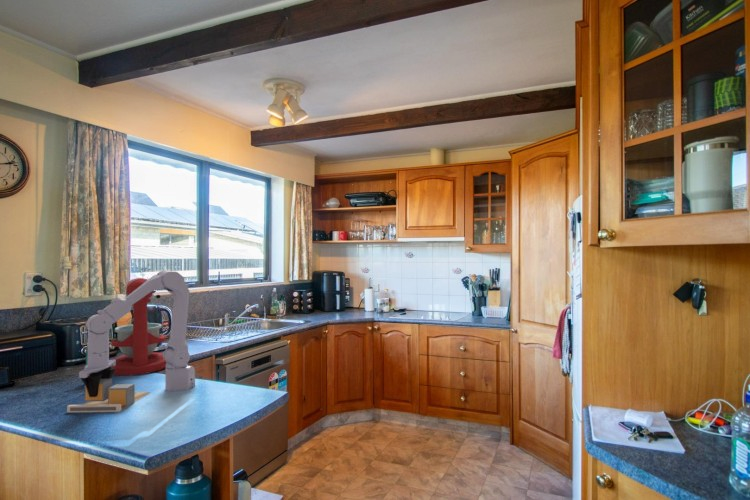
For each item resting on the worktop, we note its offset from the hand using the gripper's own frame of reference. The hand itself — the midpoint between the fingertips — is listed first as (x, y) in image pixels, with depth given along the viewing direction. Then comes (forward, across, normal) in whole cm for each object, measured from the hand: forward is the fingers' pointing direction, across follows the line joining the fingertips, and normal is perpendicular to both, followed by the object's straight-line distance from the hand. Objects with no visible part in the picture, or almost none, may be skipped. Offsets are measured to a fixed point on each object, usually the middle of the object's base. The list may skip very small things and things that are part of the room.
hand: (98, 394), depth 130 cm
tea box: (+2, 0, 0) cm, 2 cm away
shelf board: (+5, -3, +2) cm, 6 cm away
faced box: (+4, 0, +8) cm, 8 cm away
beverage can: (+5, -29, -21) cm, 36 cm away
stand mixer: (+5, -51, -16) cm, 54 cm away
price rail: (+4, +6, +2) cm, 7 cm away
